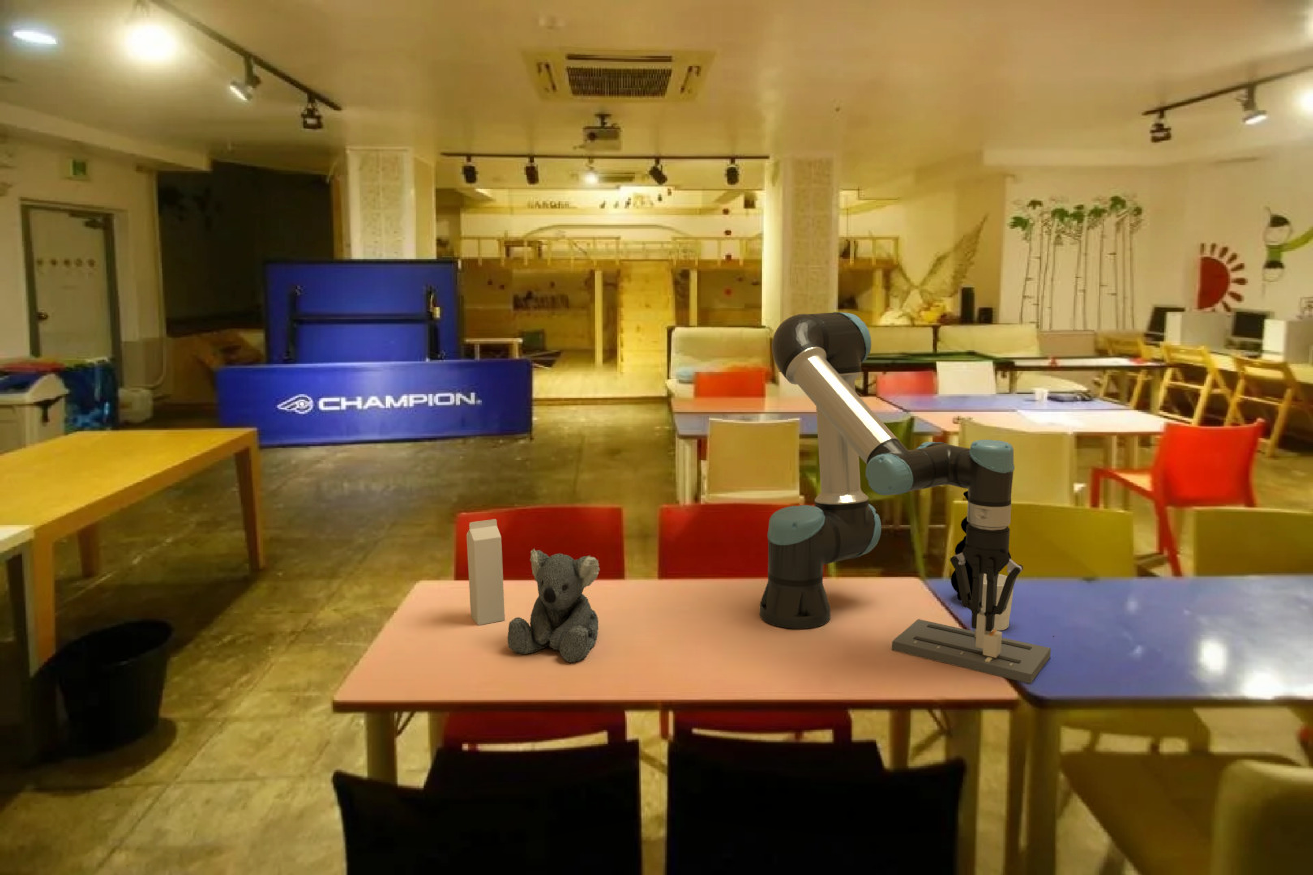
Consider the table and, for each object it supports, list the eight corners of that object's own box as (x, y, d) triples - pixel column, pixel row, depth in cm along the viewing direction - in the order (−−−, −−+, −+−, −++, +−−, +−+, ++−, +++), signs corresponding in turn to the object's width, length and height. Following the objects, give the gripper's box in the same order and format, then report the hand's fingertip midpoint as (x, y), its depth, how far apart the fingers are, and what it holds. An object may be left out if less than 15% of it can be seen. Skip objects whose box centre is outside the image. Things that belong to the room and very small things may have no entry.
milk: (470, 616, 197) (464, 519, 193) (497, 611, 199) (492, 515, 196) (478, 626, 191) (472, 525, 188) (505, 620, 194) (500, 521, 190)
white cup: (1014, 633, 184) (1017, 586, 182) (974, 630, 185) (976, 584, 183) (1007, 618, 191) (1010, 573, 190) (968, 616, 193) (971, 572, 191)
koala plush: (501, 654, 177) (497, 559, 173) (543, 621, 193) (540, 534, 190) (582, 666, 171) (579, 568, 167) (618, 631, 187) (616, 541, 184)
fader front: (982, 654, 168) (984, 633, 167) (987, 649, 170) (988, 628, 170) (996, 657, 167) (997, 636, 166) (1000, 652, 169) (1002, 631, 168)
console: (891, 649, 176) (892, 639, 176) (917, 627, 187) (918, 617, 187) (1030, 683, 161) (1031, 673, 161) (1050, 656, 172) (1050, 646, 172)
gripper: (946, 523, 166) (940, 644, 170) (1019, 535, 159) (1011, 660, 163) (959, 515, 172) (953, 631, 176) (1030, 525, 164) (1023, 646, 169)
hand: (981, 645), depth 170 cm, fingers closed
